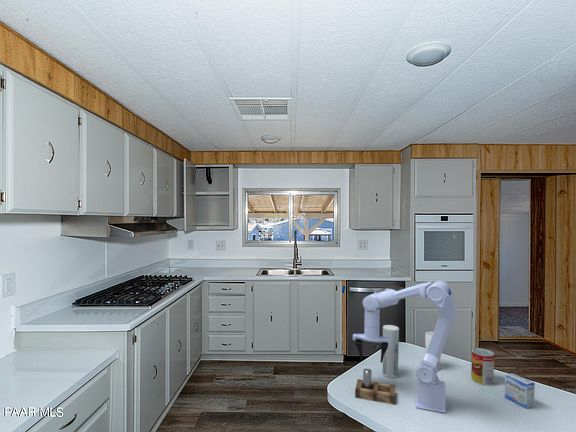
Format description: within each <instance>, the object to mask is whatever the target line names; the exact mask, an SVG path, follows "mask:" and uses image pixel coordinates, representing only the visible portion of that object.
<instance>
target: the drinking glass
mask: <svg viewBox="0 0 576 432" xmlns="http://www.w3.org/2000/svg"><path fill="white" fill-rule="evenodd" d="M433 332H434V331H426V332H425V336H424V339H425V340H424V344H425V345H424V346H425V353H426V352H427V349H428V346H429V343H430V341H431V338H432V335H433ZM440 363H441V360H440V361H439V365H440V366H441V364H440Z"/></svg>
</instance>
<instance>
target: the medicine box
mask: <svg viewBox="0 0 576 432" xmlns="http://www.w3.org/2000/svg"><path fill="white" fill-rule="evenodd" d="M504 376H505V378H504V381H505V382H504V398H505V399H507V400H508V401H511V402H513V404H516V405H519V406H521V407H523V408H525V409H530V408H533V407H535V385H536V384H535V382H533V381H531V380H529V379H526V378H525V377H522V376H520V375H517V374H516V373H514V372H512V373H507V374H505V375H504Z"/></svg>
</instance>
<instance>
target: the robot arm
mask: <svg viewBox="0 0 576 432" xmlns="http://www.w3.org/2000/svg"><path fill="white" fill-rule="evenodd" d="M417 296H419V297H421V298H424V299H426V298H427V299H428V300H429V301H430V302H431V303H433V304H434V305H435V306H436V308H437V309H438V311H439V316H438V319H437V322H436V325H435V327H434V329H433V331H432V332H433V335H432V338H431V341H430V343H429V346H428V349H427V352H426V351H425V354H424V356H423V358H422V360H421V362H420V363H419V365H417V367H416V368H415V374H416V375H415V376H416V395H414V400H415V408H416V409H422V410H427V411H432V412H438V413H445V414H446V411H447V410H446V409H447V407H446V404H447V398H446V397H447V390H446V388H447V387H446V382H445V381H443V380H441V379H439V376H438V375H437V374H438V373H439V372H440V370H441V369H440V367H441V364H440V365H439V361H440V362H441V356H442V353H443V351H444V348H445V345H446V343H447V340H448V337H449V334H450V332H451V329H452V327H453V324H454V321H455V318H456V315H457V314H458V309H457V304H456V301H455V298H454V292H453V289H452V288H451V287H450V285H449V284H448V282H446V281H444V280H439V279H438V280H435V281H434V282H433V281H428V282H422V283H418V284H416V285H415V284H414V285H413V286H409V287H405V288H403V289H399V290H395V289H394V288H393V289H392V288H385V289H384V290H383V291H379V292H378V291H375V292H374V293H372V294H369V295H367V296H365V297H364V298H363V299H362V306H363V308H364V322H363V323H364V327H363V328H364V333H353V334H352V340H353V341H355V343H354V344H355V346H356V348H357V350H358V353H359V358H360V361H361V360H362V361H363V356H364V355H363V342H371V343H376V344H377V343H378V344H379V343H380V344H381V345H380V346H381V347H380V353H381V354H380V363H382V364H383V357H384V354H385V352H386V350H387V348H388V345H391V338H387V337H383V335H382V336H381V335H380V314H381V313H380V310H381V309H382V308H386V307H390V306H394V305H398V303H399V302H400V300H403V299H407V298H412V297H417Z"/></svg>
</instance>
